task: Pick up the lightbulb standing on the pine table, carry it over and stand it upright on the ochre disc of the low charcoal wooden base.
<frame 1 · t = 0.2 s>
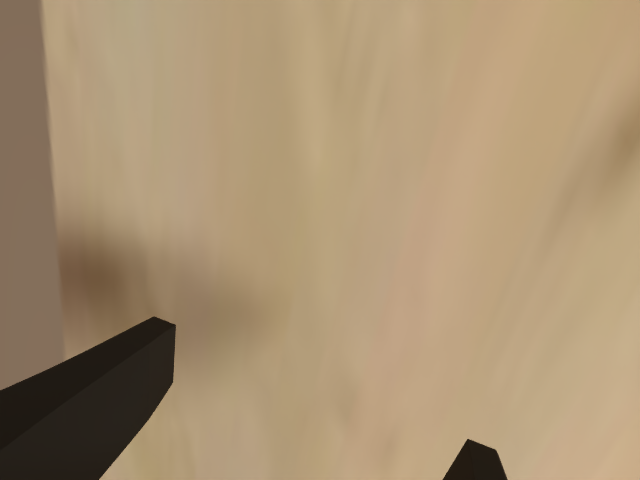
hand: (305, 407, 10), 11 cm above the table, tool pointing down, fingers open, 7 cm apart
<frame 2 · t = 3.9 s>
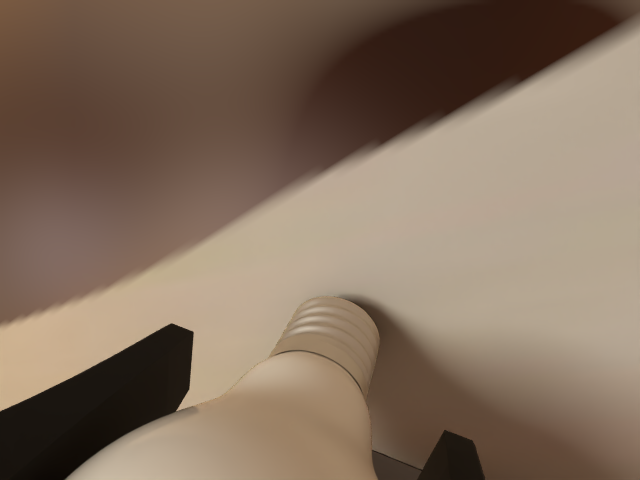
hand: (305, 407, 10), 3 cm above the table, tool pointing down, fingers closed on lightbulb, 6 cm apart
lightbulb: (341, 317, 13), on the table, touching gripper
when the fingers open (6 cm above the table, at t = 7.7 s): lightbulb stays where it is, resting on charcoal base.
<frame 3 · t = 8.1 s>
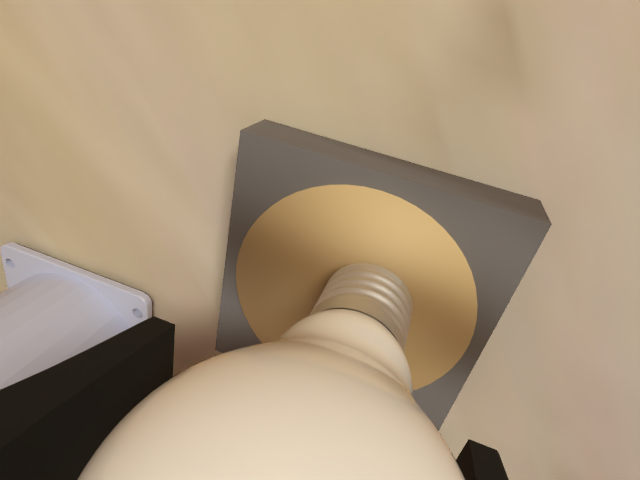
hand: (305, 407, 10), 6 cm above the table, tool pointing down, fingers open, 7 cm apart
lightbulb: (373, 286, 13), point 2 cm above the table, touching charcoal base, gripper
charcoal base: (359, 273, 15), on the table
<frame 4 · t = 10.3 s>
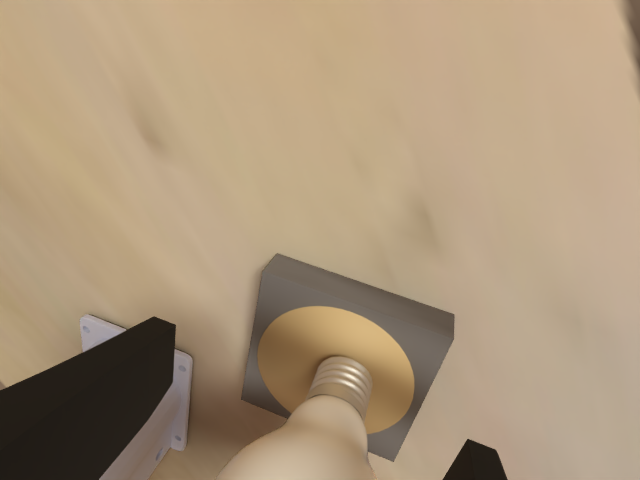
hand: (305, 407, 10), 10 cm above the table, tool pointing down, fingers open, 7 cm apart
lightbulb: (348, 366, 20), point 2 cm above the table, touching charcoal base
charcoal base: (341, 349, 22), on the table
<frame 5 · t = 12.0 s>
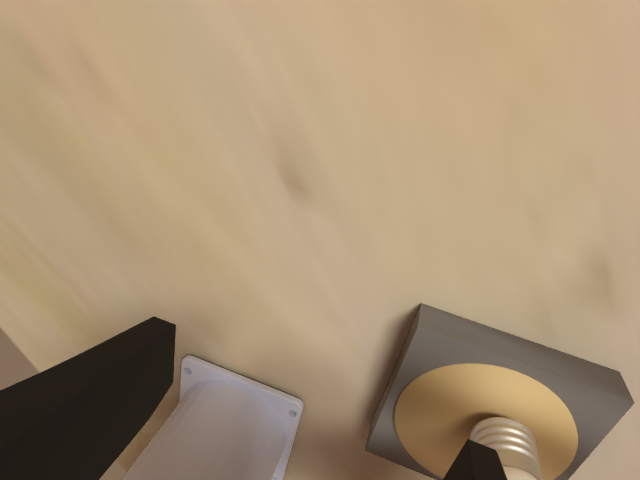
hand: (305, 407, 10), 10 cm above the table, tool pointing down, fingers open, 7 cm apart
lightbulb: (500, 424, 19), point 2 cm above the table, touching charcoal base
charcoal base: (478, 401, 21), on the table
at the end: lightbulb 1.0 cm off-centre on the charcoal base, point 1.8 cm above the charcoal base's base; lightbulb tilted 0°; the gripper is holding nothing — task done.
